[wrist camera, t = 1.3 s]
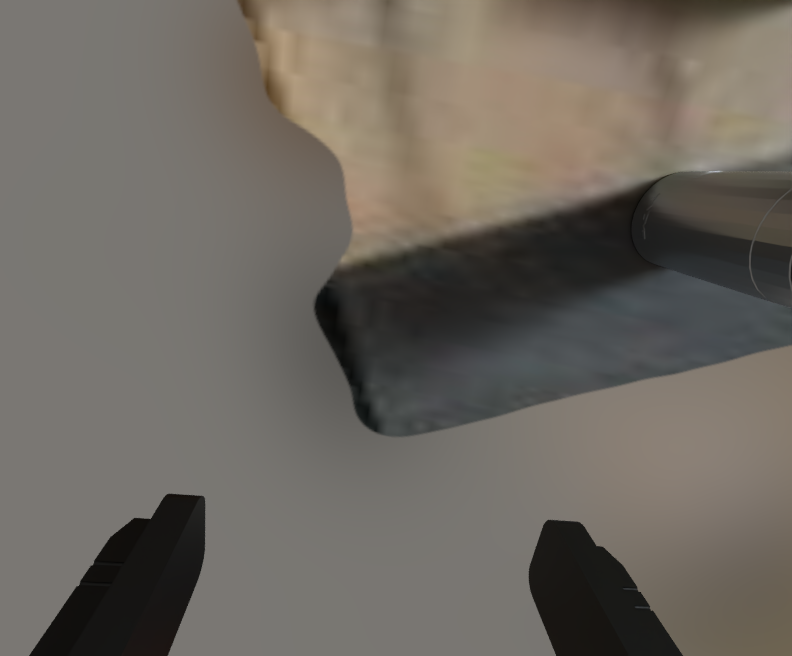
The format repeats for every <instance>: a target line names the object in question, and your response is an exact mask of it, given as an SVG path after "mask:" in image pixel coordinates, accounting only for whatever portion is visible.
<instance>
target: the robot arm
mask: <svg viewBox="0 0 792 656" xmlns="http://www.w3.org/2000/svg"><path fill="white" fill-rule="evenodd" d="M632 239H633V243H634V245H635V247H636V250H637V251H638V252H639V254H640V255H641V256H642V257H643V258H644V259H646V260H647V261H648V262H650V263H653V264H656V265H658V266H662V267H665V268H668V269H671V270H674V271H677V272H680V273H683V274H686V275H689V276H692V277H695V278H698V279H701V280H704V281H707V282H711V283H714V284H717V285H720V286H723V287H726V288H729V289H732V290H735V291H738V292H742V293H745V294H748V295H751V296H754V297H757V298H760V299H763V300H766V301H770V302H773V303H776V304H780V305H783V306H786V307H789V308H792V172H721V171H689V172H678V173H675V174H671V175H669V176H667V177H665V178H663V179H661V180H659V181H658V182H657V183H656V184H654V185H653V186H652V187H651V188H650V189H649V190H648V191H647V192H646V193H645V194H644V196H643V197H642V199H641V200H640V202H639V203H638V206H637V208H636V210H635V213H634V216H633V220H632ZM204 552H205V498H204V496H195V495H179V494H167V495H166V496H165V497H164V498H163V500H162V501H161V503H160V505H159V507H158V508H157V510H156V511H155V513H154V515H153V516H152V518H151V519H142V518H134V519H133V520H131V521H130V522H129V523H128V524H126V525H125V526H124V527H123V528H121V529H120V530H119V531H118V532H116V533H115V534H114V535H113V536H111V537H110V539H109V540H108V542H107V543H106V544H105V546H104V547H103V549H102V550H101V552H100V553H99V555H98V556H97V558H96V559H95V561H94V564H93V566H91V567H90V568H89V569H88V571H87V572H86V574H85V575H84V577H83V578H82V580H81V581H80V585H79V586H77V587H76V588H75V590H74V591H73V593H72V594H71V596H70V597H69V598H68V600H67V601H66V603H65V604H64V606H63V608H62V609H61V610H60V612H59V613H58V614H57V616H56V617H55V619H54V620H53V622H52V623H51V625H50V626H49V628H48V629H47V630H46V632H45V634H44V635H43V636H42V638H41V639H40V641H39V642H38V644H37V645H36V647H35V648H34V649H33V651H32V652H31V654H30V655H29V656H168V653H169V651H170V648H171V646H172V643H173V641H174V638H175V636H176V633H177V631H178V628H179V626H180V623H181V621H182V618H183V616H184V613H185V611H186V608H187V606H188V603H189V601H190V598H191V596H192V593H193V591H194V588H195V586H196V583H197V581H198V578H199V575H200V571H201V568H202V564H203V559H204ZM529 585H530V590H531V593H532V597H533V599H534V602H535V604H536V607H537V609H538V612H539V614H540V617H541V619H542V622H543V624H544V626H545V629H546V631H547V634H548V636H549V639H550V641H551V644H552V646H553V649H554V651H555V654H556V656H683V655H682V654H681V652H680V651H679V649H678V648H677V646H676V645H675V643H674V642H673V640H672V639H671V637H670V636H669V634H668V633H667V631H666V630H665V628H664V627H663V625H662V624H661V622H660V621H659V619H658V618H657V616H656V615H655V613H654V612H653V611H651V610H650V606H649V604H648V603H647V601H646V600H645V598H644V597H643V595H642V594H641V592H638V590H637V586H636V584H635V583H634V582H633V580H632V579H631V577H630V575H629V574H628V573H627V571H626V569H625V568H624V567H623V565H622V564H621V563H620V562H619V561H617V560H616V559H615V558H614V557H613V556H612V555H611V554H610V553H609V552H608V551H607V550H606V549H605V548H603V547H600V546H596V545H595V543H594V541H593V540H592V538H591V537H590V535H589V533H588V532H587V530H586V529H585V527H584V526H583V525H582V524H581V523H580V522H573V521H558V520H547V521H546V522H545V524H544V525H543V528H542V531H541V534H540V537H539V540H538V543H537V546H536V549H535V552H534V555H533V558H532V561H531V564H530V568H529Z"/></svg>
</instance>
